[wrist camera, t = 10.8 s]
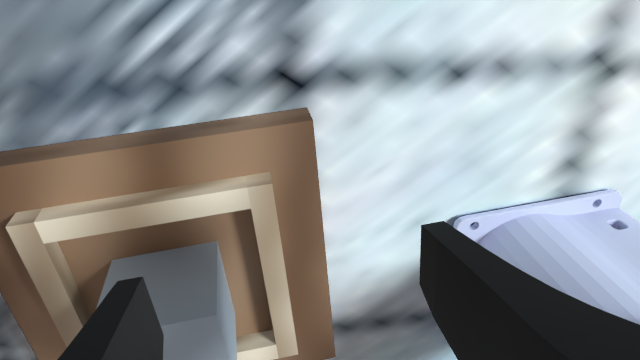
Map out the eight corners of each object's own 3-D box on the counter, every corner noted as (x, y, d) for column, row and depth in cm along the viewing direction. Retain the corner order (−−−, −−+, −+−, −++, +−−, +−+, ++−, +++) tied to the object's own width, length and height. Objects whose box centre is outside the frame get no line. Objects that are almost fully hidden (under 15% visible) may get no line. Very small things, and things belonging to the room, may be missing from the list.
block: (217, 241, 20) (216, 315, 17) (235, 314, 23) (238, 395, 19) (112, 260, 20) (85, 340, 16) (141, 333, 22) (124, 420, 18)
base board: (306, 107, 20) (317, 129, 18) (329, 336, 27) (339, 372, 25) (-45, 158, 18) (-81, 190, 16) (76, 388, 25) (63, 432, 23)
